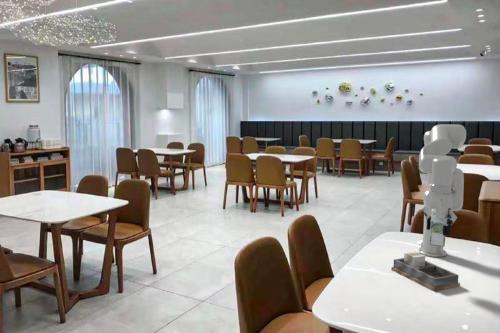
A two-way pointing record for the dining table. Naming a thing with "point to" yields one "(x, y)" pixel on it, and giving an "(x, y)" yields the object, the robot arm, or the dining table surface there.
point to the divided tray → (425, 272)
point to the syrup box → (436, 230)
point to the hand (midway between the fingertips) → (438, 231)
